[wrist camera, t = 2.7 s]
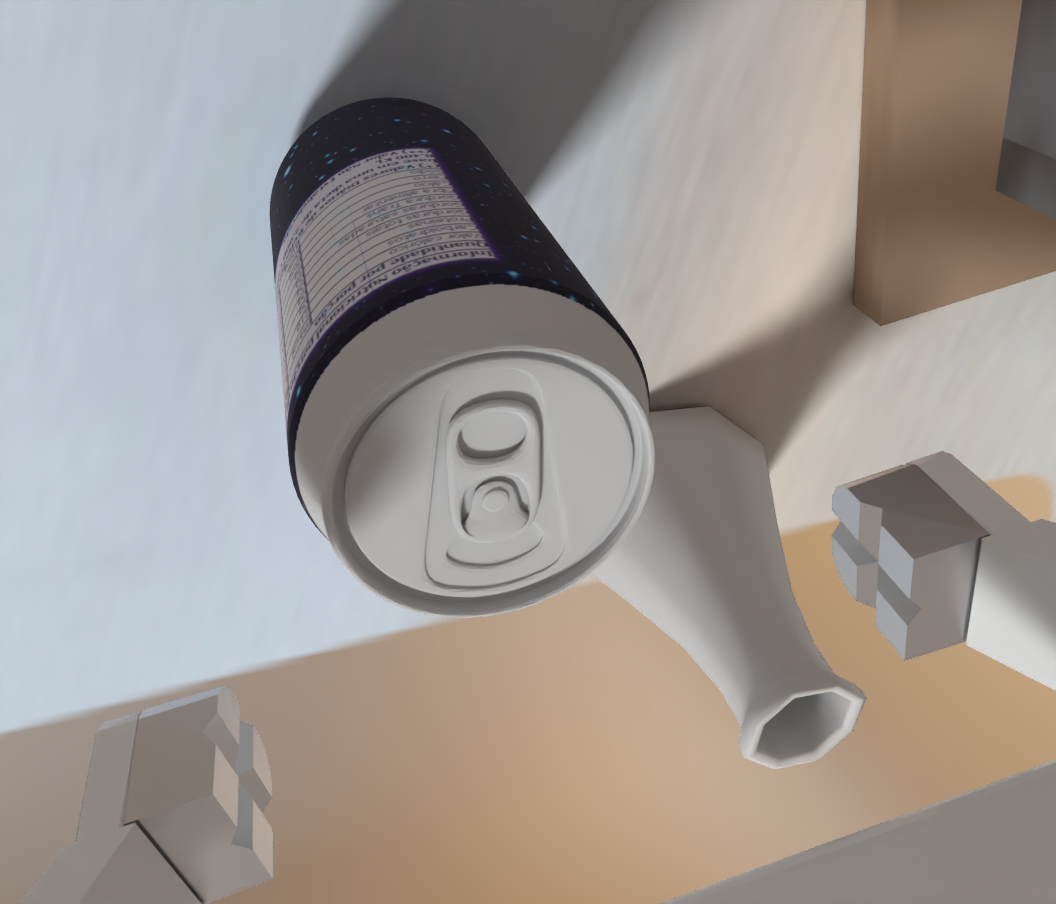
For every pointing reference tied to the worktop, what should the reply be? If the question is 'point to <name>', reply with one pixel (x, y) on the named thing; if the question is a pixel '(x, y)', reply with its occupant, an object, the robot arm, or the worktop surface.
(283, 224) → the beverage can
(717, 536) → the flask
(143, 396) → the worktop surface
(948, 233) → the square holder on base
